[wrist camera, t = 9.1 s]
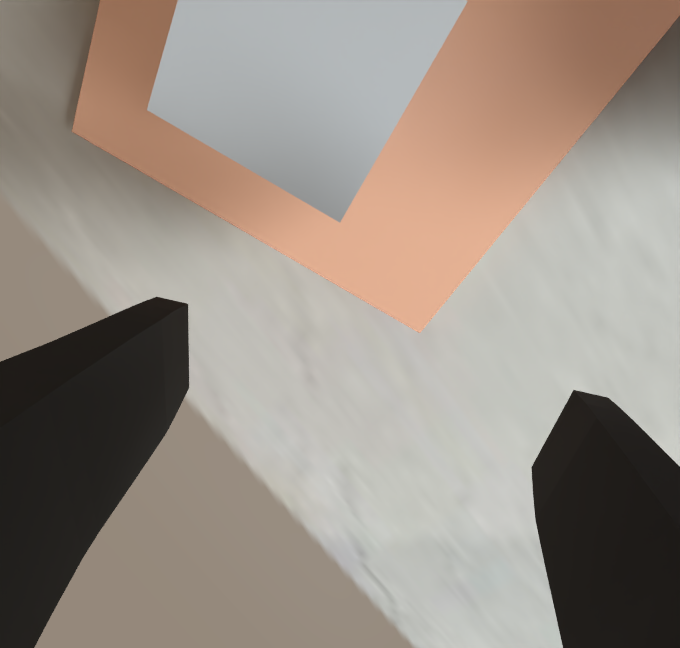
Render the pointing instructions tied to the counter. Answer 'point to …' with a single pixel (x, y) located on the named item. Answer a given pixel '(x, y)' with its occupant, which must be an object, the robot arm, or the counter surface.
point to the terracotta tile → (395, 140)
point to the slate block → (299, 84)
